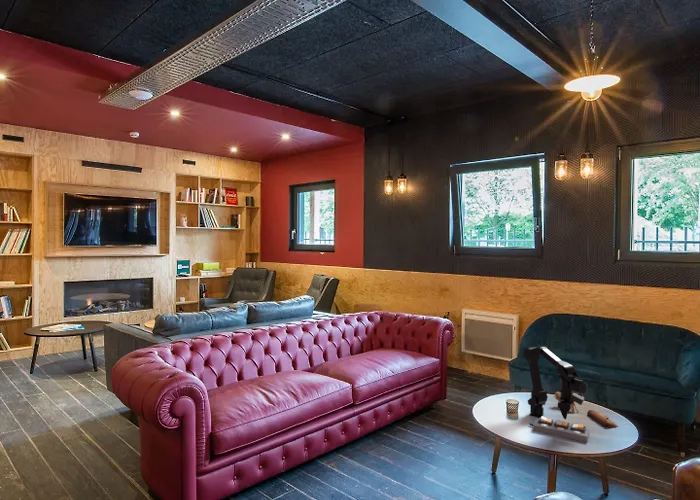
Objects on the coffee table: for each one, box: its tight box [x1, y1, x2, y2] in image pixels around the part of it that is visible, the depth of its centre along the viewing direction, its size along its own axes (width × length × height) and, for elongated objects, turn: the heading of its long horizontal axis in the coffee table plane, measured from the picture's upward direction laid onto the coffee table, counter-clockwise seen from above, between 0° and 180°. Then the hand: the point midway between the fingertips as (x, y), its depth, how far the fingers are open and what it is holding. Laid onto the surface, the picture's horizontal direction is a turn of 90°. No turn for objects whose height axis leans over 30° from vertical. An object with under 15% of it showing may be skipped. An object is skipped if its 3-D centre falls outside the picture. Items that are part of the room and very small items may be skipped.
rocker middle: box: [556, 419, 569, 426], centre depth 243 cm, size 5×4×1 cm
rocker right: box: [572, 423, 585, 429], centre depth 238 cm, size 5×4×1 cm
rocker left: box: [539, 415, 553, 423], centre depth 247 cm, size 5×4×1 cm
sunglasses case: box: [587, 409, 619, 429], centre depth 256 cm, size 18×7×7 cm
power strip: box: [529, 417, 590, 443], centre depth 242 cm, size 29×10×4 cm, turn 56°
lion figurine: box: [554, 391, 580, 413], centre depth 274 cm, size 15×5×9 cm, turn 38°
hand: (566, 416), depth 245 cm, fingers open, 9 cm apart
